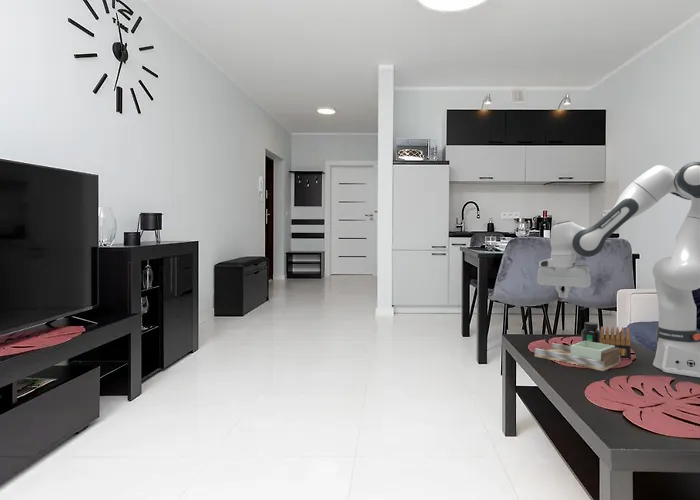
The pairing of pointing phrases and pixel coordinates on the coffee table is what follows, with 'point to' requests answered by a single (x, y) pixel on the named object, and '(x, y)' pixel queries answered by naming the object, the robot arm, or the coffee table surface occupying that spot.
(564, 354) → the striped flat box
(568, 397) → the coffee table surface
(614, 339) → the ammunition clip
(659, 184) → the robot arm
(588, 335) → the supplement bottle
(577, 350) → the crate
